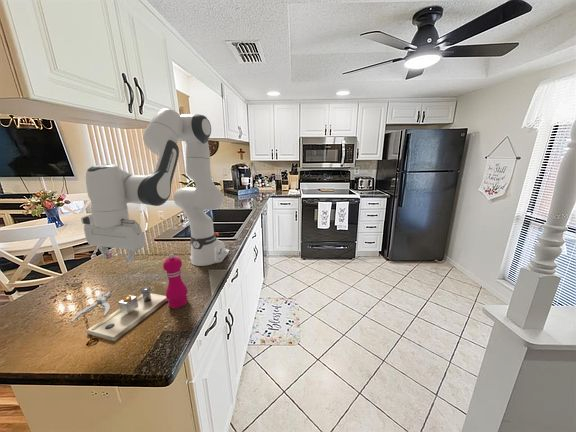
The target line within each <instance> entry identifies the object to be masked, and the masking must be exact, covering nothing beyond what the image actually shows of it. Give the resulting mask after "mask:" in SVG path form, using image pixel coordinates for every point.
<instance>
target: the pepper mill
mask: <svg viewBox="0 0 576 432" xmlns="http://www.w3.org/2000/svg"><path fill="white" fill-rule="evenodd" d="M182 267H183V263H182V260H181V259H180V258H179V257H177V256H175V254H174V253H170V254H169V255H168V258H166V259H165V260H164V262H163V270H164V271H165V274H166V277H167V278H168V284H167V287H166V290H165V291H166V292H165V296H166V298H167V299H168V306H169V307H170V308H172V309H178V308H181V307H183V306H186V304H187V303H188V296H187V295H188V293H189V292H188V287H187V286H186V284H185V283H184V281H183V280H182V276H181V274H182V272H183V271H182Z"/></svg>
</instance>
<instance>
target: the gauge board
mask: <svg viewBox="0 0 576 432" xmlns="http://www.w3.org/2000/svg"><path fill="white" fill-rule="evenodd" d="M150 294H151V298H150V299H149V300H148V301H146V300H144V299H143V294H142V293H141V294H140V295H139V296H136V297H137V302H138V307H137V308H136V309H134V310H133V311H132V312H130V313H129V314H125V313H121V311H120V308H118V309H117V310H116V311H114V312H112V313H110V314H109V315H107V316H105V318H103V319H102V320H100V321H98V322H97V323H95V324H94V325H92V326H90V327H89V328H88V329H86V332H87V334H88V335H90V336H94V337H97V338H102V339H105V340H108V341H113V342H116V341H117V340H118V339H120V338H121V337H122V336H124V335H125V334H126V333H127V332H129V331H130V330H132V329H133V328H134V327H136V325H138V324H139V323H141V322H142V321H143V320H145V319H146V318H147V317H148V316H150V315H151V314H152V313H153V312H155V311H156V310H158V309H159V308H160V307H162V306H163V305H164V304H165V303H166V302H169V300H168V299H167V298H166V295H163V294H162V295H161V294H158V293H157V294H156V293H151V292H150Z"/></svg>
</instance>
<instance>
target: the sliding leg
mask: <svg viewBox="0 0 576 432" xmlns="http://www.w3.org/2000/svg"><path fill="white" fill-rule="evenodd" d="M137 297H138V296H135V295H131V294H130V295H127V296H124V297H123V298H122V299H121V300H120V301H118V306H119V309H120V311H121V313H125V314H129V313H130V312H132V311H133V310H134V309H136V308H137V307H138V302H137Z"/></svg>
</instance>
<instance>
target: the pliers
mask: <svg viewBox="0 0 576 432" xmlns="http://www.w3.org/2000/svg"><path fill="white" fill-rule="evenodd" d="M111 295H112V292H111V291H108V292H107V293H106V294H103V292H101V293H99V295H98V296H97V298H96V301H95V302H94V303H92V304H91V305H89V306H87V307H84V308H83V309H82V310H80V311H79V312H78V313H76V314H75V315H74V316H73V317H72V319H71V320H70V323H72V324H73V323H74V322H75V321H76V320H77V319H78V318H79V317H81V315H83V314H85V313H88V312H91V311H92V310H93V309H96V306H97V305H98V304H101V305H102V306H103V307H102V306H100V305H98V307H99V309H101V310H104V313H103V315H102V317H107V315H108V313H109V312H110V309H111V305H110V303H109V302H107V300H108V299H109V298H110V296H111Z"/></svg>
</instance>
